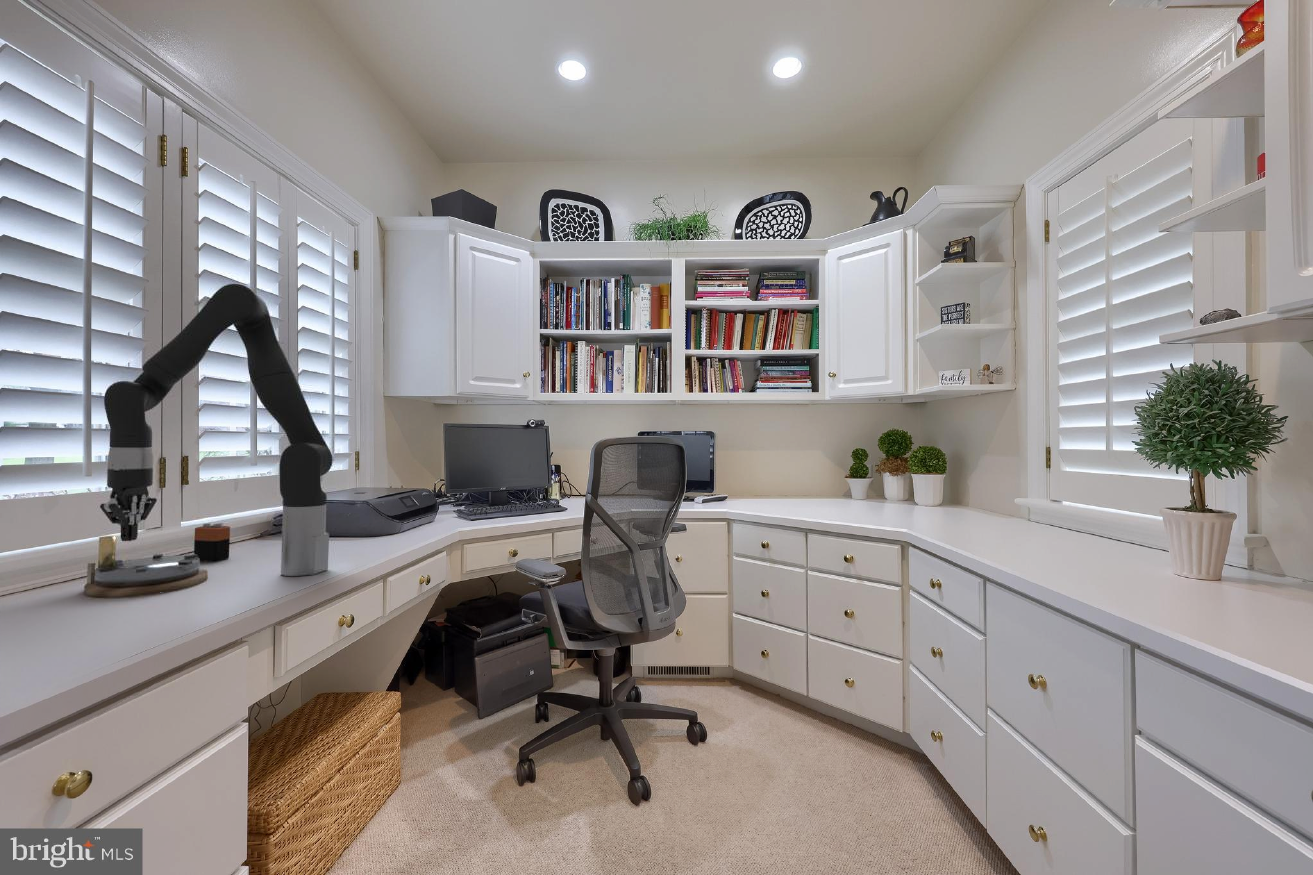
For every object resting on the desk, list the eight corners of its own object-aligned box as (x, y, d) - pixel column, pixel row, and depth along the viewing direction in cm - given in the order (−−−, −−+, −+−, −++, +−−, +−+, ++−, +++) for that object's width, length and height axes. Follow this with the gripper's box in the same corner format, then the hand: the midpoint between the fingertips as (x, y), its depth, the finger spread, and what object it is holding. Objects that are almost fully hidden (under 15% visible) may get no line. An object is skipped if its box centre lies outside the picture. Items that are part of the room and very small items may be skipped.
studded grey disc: (167, 565, 128) (168, 526, 128) (217, 571, 124) (219, 531, 124) (74, 582, 112) (76, 538, 112) (128, 590, 107) (130, 543, 107)
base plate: (229, 574, 128) (229, 550, 128) (154, 598, 108) (155, 570, 108) (145, 573, 127) (146, 549, 127) (54, 597, 107) (55, 568, 107)
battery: (215, 562, 140) (216, 525, 140) (192, 560, 140) (193, 524, 140) (230, 558, 144) (231, 522, 144) (207, 557, 145) (209, 521, 145)
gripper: (136, 465, 127) (134, 535, 127) (85, 468, 114) (83, 546, 114) (170, 465, 128) (169, 535, 128) (124, 468, 115) (122, 545, 115)
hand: (128, 540), depth 121 cm, fingers closed
